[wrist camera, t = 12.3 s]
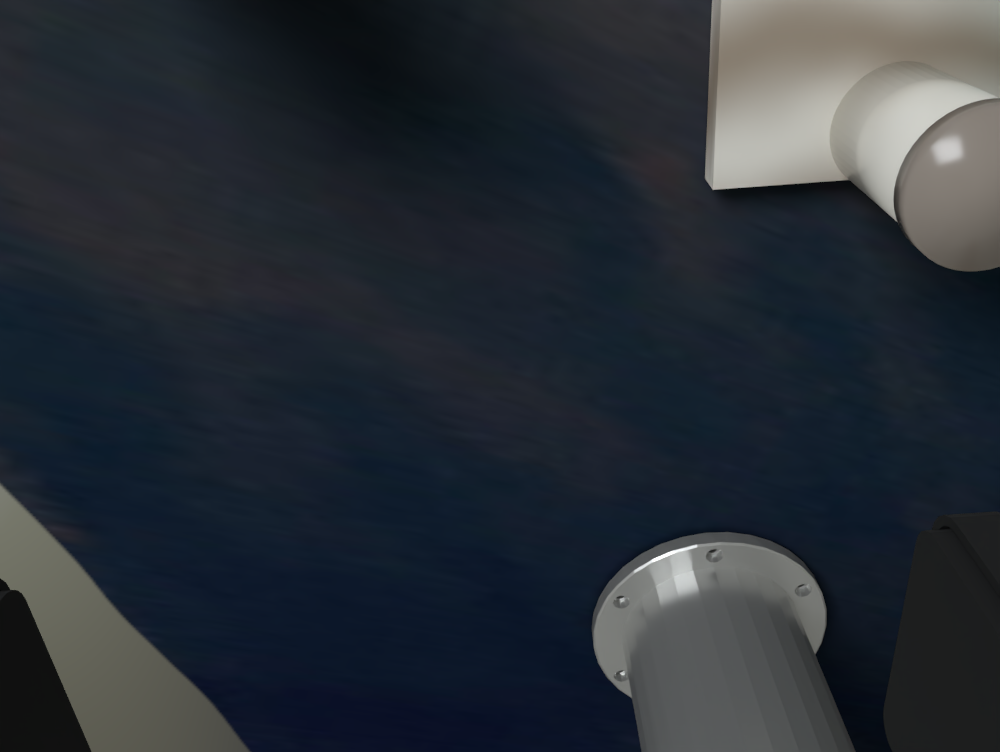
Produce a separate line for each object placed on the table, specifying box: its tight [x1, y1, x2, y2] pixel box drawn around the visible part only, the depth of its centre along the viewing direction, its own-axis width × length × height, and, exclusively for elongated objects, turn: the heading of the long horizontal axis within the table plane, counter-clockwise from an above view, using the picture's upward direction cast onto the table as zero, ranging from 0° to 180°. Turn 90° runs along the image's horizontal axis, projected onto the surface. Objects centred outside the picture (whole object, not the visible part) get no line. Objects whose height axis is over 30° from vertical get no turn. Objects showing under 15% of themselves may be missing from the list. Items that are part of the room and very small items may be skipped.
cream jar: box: [830, 61, 1000, 271], centre depth 33 cm, size 5×5×8 cm
